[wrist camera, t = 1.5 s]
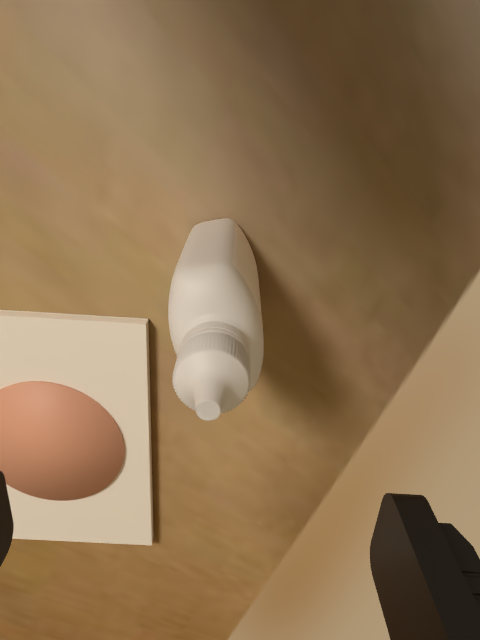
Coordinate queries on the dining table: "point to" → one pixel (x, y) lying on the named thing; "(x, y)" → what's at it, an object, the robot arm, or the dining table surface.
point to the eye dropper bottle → (216, 319)
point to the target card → (76, 426)
